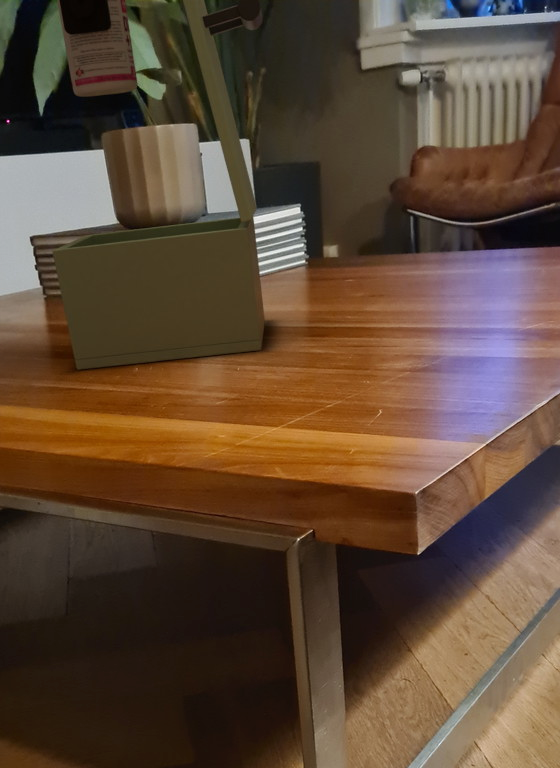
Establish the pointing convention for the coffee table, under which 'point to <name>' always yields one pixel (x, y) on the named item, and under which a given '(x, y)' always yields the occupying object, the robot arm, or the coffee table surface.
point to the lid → (224, 87)
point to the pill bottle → (102, 56)
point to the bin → (162, 293)
